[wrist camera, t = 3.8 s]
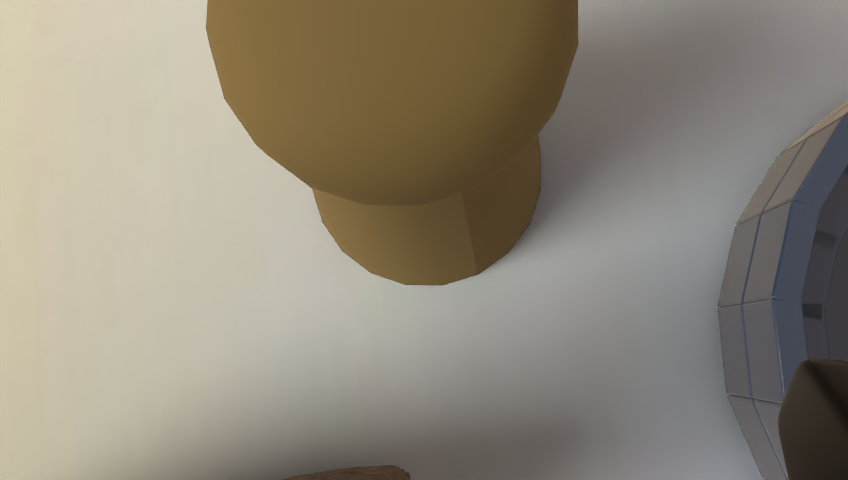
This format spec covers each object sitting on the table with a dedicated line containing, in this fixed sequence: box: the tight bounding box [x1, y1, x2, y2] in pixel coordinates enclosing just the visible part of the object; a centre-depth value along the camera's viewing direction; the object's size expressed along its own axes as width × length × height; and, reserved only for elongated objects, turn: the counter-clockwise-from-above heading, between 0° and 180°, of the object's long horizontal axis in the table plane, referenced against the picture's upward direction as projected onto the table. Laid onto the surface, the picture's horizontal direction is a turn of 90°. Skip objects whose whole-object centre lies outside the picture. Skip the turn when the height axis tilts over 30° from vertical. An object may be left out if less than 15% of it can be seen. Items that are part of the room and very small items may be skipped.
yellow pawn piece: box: [206, 0, 578, 285], centre depth 15 cm, size 6×6×11 cm
